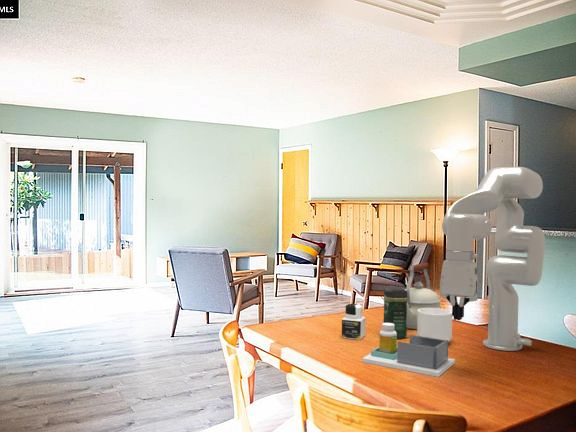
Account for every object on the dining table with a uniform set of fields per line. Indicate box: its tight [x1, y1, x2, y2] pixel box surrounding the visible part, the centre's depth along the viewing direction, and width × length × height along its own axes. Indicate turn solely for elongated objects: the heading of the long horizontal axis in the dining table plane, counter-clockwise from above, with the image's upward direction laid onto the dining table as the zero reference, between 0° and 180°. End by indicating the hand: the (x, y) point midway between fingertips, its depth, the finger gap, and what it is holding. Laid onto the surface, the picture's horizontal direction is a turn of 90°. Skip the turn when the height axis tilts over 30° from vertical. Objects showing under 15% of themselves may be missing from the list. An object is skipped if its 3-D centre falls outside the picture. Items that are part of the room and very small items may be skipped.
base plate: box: [361, 346, 456, 378], centre depth 164 cm, size 24×16×3 cm, turn 56°
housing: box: [397, 334, 449, 369], centre depth 161 cm, size 12×11×6 cm
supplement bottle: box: [378, 323, 398, 354], centre depth 168 cm, size 5×5×10 cm
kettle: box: [403, 262, 442, 330], centre depth 212 cm, size 25×18×25 cm
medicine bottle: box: [341, 303, 366, 341], centre depth 194 cm, size 7×7×12 cm
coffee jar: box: [383, 285, 408, 340], centre depth 196 cm, size 10×8×19 cm
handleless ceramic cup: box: [416, 308, 453, 343], centre depth 188 cm, size 12×12×11 cm
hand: (457, 319), depth 155 cm, fingers closed
